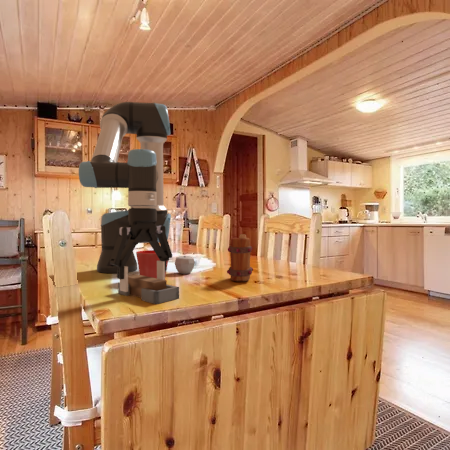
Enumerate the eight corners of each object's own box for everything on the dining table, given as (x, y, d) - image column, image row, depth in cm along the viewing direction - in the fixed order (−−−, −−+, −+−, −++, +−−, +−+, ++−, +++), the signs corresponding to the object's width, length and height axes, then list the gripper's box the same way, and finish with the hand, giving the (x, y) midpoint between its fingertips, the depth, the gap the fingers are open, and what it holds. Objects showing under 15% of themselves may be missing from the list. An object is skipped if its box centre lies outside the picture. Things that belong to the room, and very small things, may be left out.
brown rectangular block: (121, 293, 95) (121, 275, 95) (134, 290, 98) (133, 273, 98) (154, 302, 85) (153, 282, 85) (166, 299, 88) (166, 280, 88)
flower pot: (157, 276, 119) (157, 248, 119) (175, 280, 112) (175, 251, 111) (130, 280, 112) (130, 251, 112) (148, 285, 104) (147, 254, 104)
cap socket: (141, 300, 86) (141, 288, 86) (164, 294, 92) (164, 283, 92) (155, 304, 82) (155, 292, 82) (179, 298, 88) (179, 287, 88)
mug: (250, 283, 106) (250, 236, 105) (225, 282, 107) (225, 236, 107) (255, 275, 120) (255, 233, 120) (233, 274, 122) (233, 233, 121)
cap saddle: (118, 293, 93) (118, 282, 93) (141, 288, 99) (141, 278, 99) (126, 295, 91) (126, 284, 91) (149, 290, 96) (149, 280, 96)
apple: (178, 275, 120) (178, 257, 120) (171, 272, 127) (170, 255, 126) (199, 273, 124) (198, 256, 124) (190, 270, 131) (190, 254, 130)
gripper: (109, 206, 80) (111, 297, 81) (184, 207, 97) (184, 282, 98) (94, 207, 85) (95, 292, 85) (168, 207, 102) (168, 278, 103)
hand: (143, 287), depth 92 cm, fingers open, 11 cm apart
